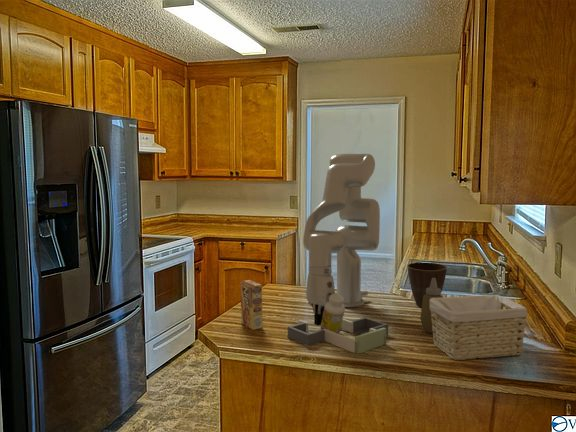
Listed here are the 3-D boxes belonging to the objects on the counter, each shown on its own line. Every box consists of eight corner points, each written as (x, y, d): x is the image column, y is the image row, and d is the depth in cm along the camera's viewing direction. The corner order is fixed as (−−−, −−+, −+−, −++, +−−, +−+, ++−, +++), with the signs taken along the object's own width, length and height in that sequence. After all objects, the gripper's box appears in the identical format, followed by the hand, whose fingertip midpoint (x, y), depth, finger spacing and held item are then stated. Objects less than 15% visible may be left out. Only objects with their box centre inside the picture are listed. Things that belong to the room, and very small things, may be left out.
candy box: (263, 328, 168) (262, 284, 166) (252, 330, 166) (252, 286, 164) (250, 321, 175) (250, 279, 174) (240, 323, 173) (239, 281, 171)
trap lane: (340, 318, 178) (340, 305, 177) (400, 338, 157) (400, 323, 156) (282, 334, 161) (281, 320, 161) (340, 359, 140) (340, 343, 140)
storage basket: (450, 362, 138) (451, 312, 137) (426, 342, 154) (427, 296, 153) (528, 357, 141) (530, 308, 140) (496, 338, 157) (498, 293, 156)
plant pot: (440, 313, 183) (441, 271, 182) (401, 307, 191) (402, 267, 189) (449, 304, 196) (451, 264, 194) (413, 298, 204) (414, 261, 202)
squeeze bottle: (445, 328, 167) (446, 276, 165) (444, 336, 159) (446, 281, 157) (420, 325, 170) (422, 274, 168) (419, 333, 162) (420, 280, 160)
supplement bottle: (318, 324, 165) (324, 291, 160) (337, 324, 166) (344, 292, 161) (322, 336, 159) (329, 303, 154) (342, 337, 160) (349, 304, 155)
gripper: (343, 272, 160) (342, 327, 161) (314, 266, 172) (313, 317, 173) (326, 275, 155) (325, 332, 157) (297, 268, 167) (296, 321, 168)
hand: (319, 324), depth 165 cm, fingers closed
